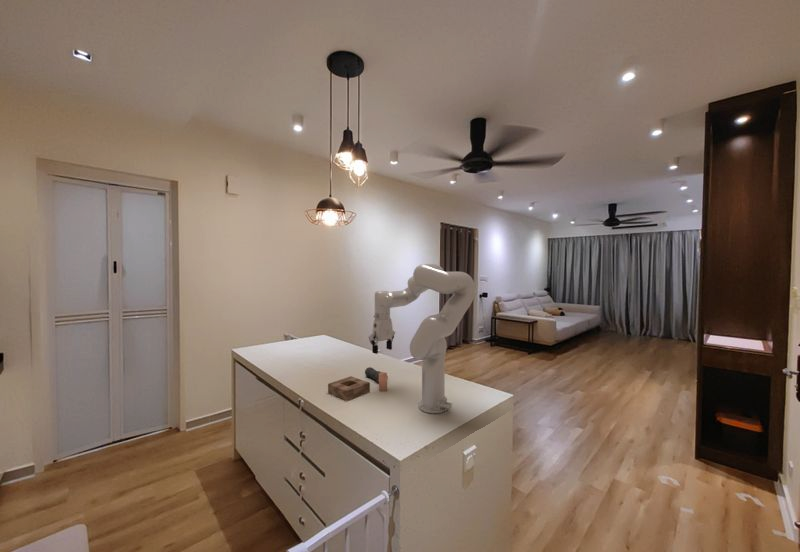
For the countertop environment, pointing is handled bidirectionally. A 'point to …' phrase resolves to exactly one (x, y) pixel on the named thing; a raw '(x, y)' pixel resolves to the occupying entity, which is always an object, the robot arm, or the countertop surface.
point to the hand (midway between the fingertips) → (382, 351)
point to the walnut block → (348, 388)
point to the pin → (382, 381)
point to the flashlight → (373, 374)
